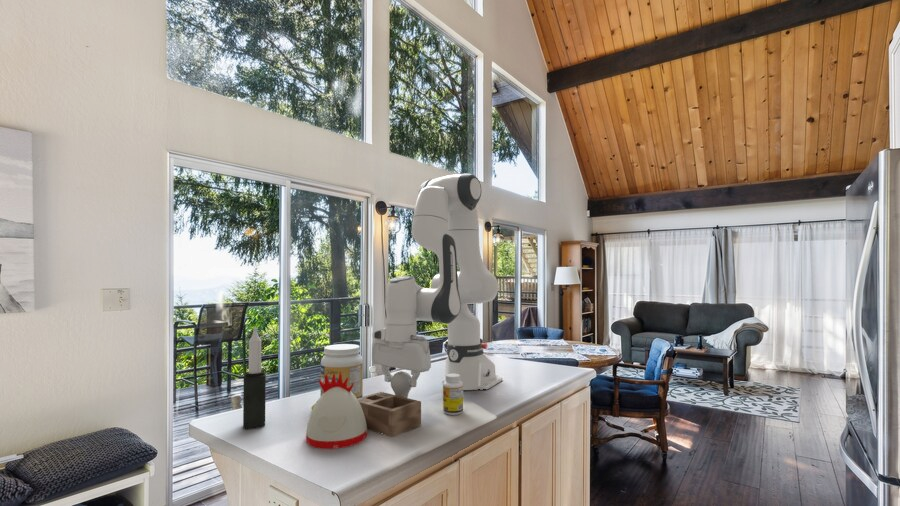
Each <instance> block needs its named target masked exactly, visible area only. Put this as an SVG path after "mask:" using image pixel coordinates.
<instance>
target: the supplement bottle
mask: <svg viewBox="0 0 900 506" xmlns="http://www.w3.org/2000/svg"><path fill="white" fill-rule="evenodd" d="M442 383H443V384H442V407H443V409H442V410H443V413H444V414H446V415H449V416H457V415H461V414H462V413H463V412H464V390H463V383H462V382H461V381H460V375H459V374H447V375H446V381H445V382H442Z"/></svg>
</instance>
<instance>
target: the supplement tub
mask: <svg viewBox="0 0 900 506" xmlns="http://www.w3.org/2000/svg"><path fill="white" fill-rule="evenodd" d="M360 347H361V346H360V345H359V344H355V343H353V344H352V343H339V344H331V345H326V346H324V348H323V354H324V356H323V357H322V358H321V360H320V380H321V381H322V382H323V383H325V375H326V374H327V376H328V379H329V382H330V383H331V382H332V377H333V374H334V373H335V378H336V382H338V378H339V375H340V373H341V375H342V381H343V382H345V380H346V378H347V377H348V381H347V387H350V386H351V385H352V383H353V382H354V385H353V387H352V389H351V392H352V393H353V394H354V395H355V397H356V398H361V397H364V396H363V393H364V392H363V384H364V383H363V381H364V380H363V379H364V376H363V375H364V371H363V370H364V363H363V362H364V359H363V357H362V355H361V354H360V353H361V349H360ZM323 393H324V392H323V390H322V388H321V387H320V396H321V395H322V394H323Z"/></svg>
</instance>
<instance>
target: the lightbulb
mask: <svg viewBox="0 0 900 506" xmlns="http://www.w3.org/2000/svg"><path fill="white" fill-rule="evenodd" d="M392 375H393V377H392V379H391V382H390V387H391V390H392V391H393V393H394V395H397V396H401V397H405V398H409V393H410V391H411V389H412V387H409V386H408V384H409V383H408V380H411V378H412V375H411V374H410V373H409V372H407V371H402V370H401V371H397V372H395V373H394V374H392Z"/></svg>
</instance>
